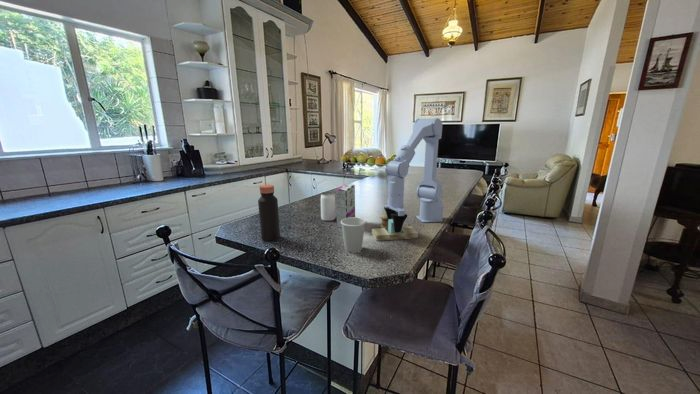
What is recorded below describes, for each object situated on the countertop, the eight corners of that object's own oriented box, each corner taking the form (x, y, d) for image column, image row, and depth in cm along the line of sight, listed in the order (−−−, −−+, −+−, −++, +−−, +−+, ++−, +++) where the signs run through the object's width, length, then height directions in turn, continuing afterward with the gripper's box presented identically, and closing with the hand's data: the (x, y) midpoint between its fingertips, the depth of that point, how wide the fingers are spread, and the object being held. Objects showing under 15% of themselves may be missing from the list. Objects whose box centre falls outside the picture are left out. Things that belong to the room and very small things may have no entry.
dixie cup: (356, 242, 99) (356, 215, 97) (370, 250, 92) (370, 222, 90) (336, 247, 95) (336, 219, 92) (349, 256, 88) (349, 227, 86)
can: (333, 221, 121) (332, 195, 118) (319, 220, 122) (318, 194, 119) (336, 217, 127) (336, 192, 124) (323, 216, 128) (322, 191, 125)
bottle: (257, 240, 101) (252, 187, 96) (269, 233, 107) (265, 183, 102) (272, 243, 99) (268, 188, 94) (283, 236, 105) (280, 185, 100)
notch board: (411, 231, 109) (411, 226, 109) (417, 237, 103) (418, 232, 102) (371, 233, 107) (372, 228, 107) (376, 240, 100) (376, 235, 100)
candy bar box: (344, 219, 124) (344, 183, 120) (355, 220, 122) (355, 184, 118) (335, 227, 113) (335, 189, 109) (347, 229, 112) (346, 190, 108)
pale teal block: (397, 233, 107) (398, 218, 106) (401, 237, 104) (401, 222, 102) (387, 233, 107) (388, 219, 105) (390, 237, 103) (391, 222, 101)
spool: (392, 224, 117) (392, 213, 116) (396, 229, 112) (397, 217, 110) (378, 225, 116) (378, 213, 115) (382, 230, 111) (382, 218, 109)
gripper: (380, 189, 107) (379, 222, 111) (391, 198, 94) (389, 236, 97) (397, 189, 108) (396, 221, 112) (410, 198, 95) (408, 234, 98)
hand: (394, 228), depth 104 cm, fingers open, 7 cm apart
